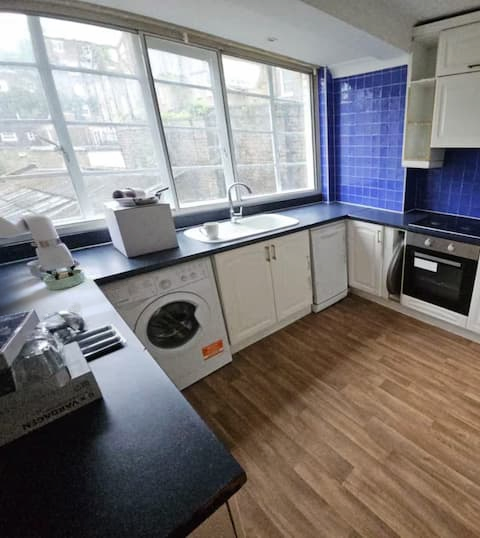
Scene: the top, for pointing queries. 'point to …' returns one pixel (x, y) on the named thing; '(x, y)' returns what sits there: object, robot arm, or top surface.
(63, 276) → the eraser
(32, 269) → the teacup
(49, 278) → the bowl
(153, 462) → the top surface
